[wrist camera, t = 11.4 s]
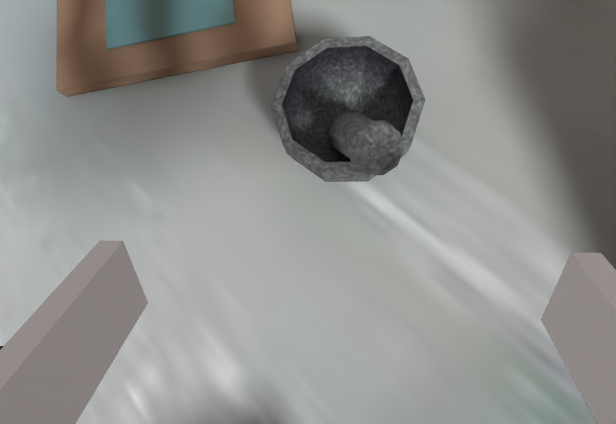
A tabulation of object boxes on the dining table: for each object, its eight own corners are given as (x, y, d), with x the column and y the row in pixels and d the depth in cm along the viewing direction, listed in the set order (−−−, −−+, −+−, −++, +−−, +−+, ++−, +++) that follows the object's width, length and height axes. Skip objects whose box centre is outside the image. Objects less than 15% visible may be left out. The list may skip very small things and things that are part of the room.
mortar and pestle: (277, 108, 32) (234, 5, 20) (382, 73, 31) (400, -54, 20) (315, 232, 29) (291, 196, 18) (429, 196, 29) (483, 134, 17)
